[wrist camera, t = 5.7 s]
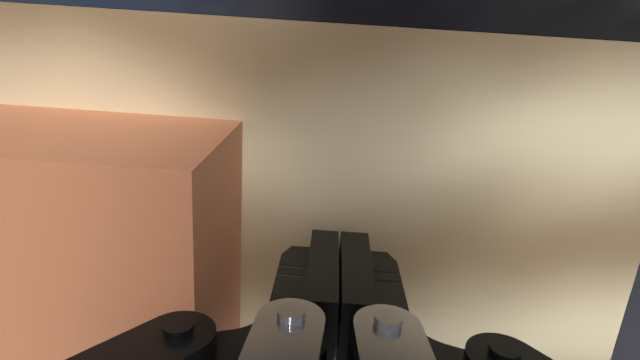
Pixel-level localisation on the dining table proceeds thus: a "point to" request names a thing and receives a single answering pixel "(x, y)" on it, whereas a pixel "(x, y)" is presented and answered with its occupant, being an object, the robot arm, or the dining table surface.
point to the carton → (114, 225)
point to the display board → (390, 151)
